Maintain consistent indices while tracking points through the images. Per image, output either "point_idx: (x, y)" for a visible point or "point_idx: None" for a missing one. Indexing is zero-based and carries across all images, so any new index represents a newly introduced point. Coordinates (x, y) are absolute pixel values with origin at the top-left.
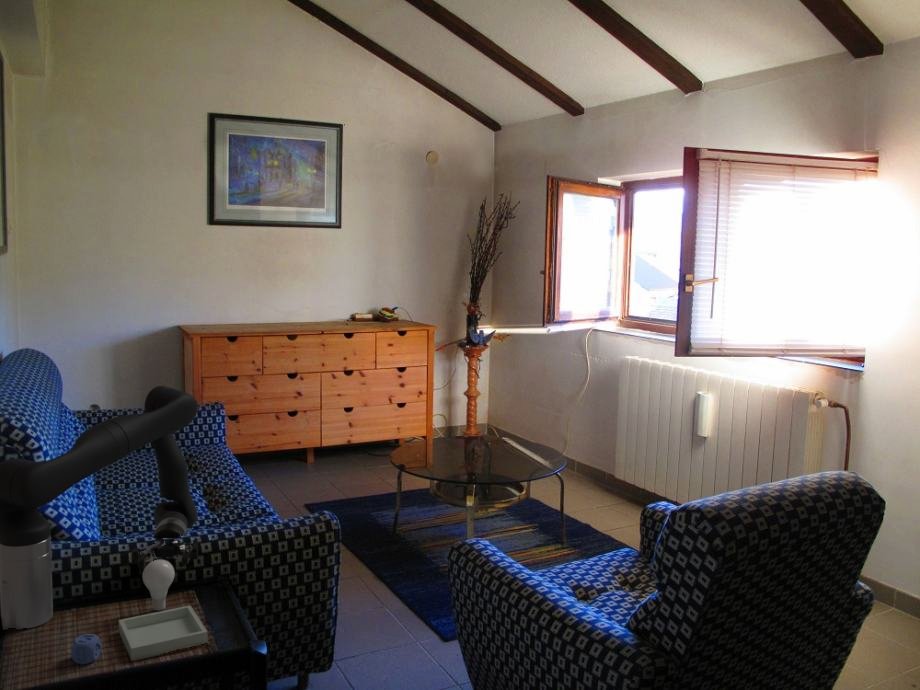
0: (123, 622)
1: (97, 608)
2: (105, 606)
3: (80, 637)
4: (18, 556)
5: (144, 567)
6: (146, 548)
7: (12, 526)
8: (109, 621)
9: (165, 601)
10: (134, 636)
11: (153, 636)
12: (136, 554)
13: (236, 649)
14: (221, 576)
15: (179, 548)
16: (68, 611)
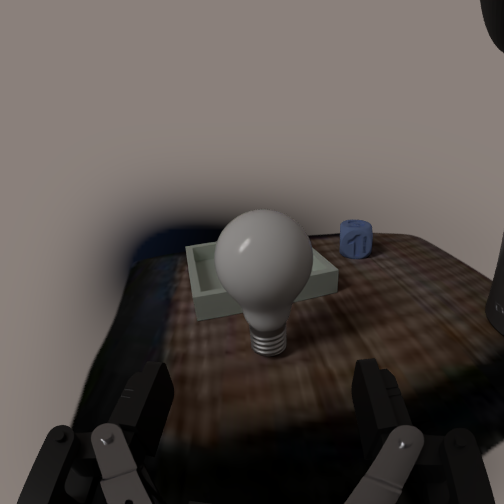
0: (325, 264)
1: (434, 363)
2: (421, 372)
3: (366, 225)
4: None
5: (354, 405)
6: (400, 487)
7: None
8: (373, 319)
9: (251, 336)
10: None
11: None
12: (439, 444)
13: (157, 256)
14: None
15: (141, 476)
16: (484, 348)
